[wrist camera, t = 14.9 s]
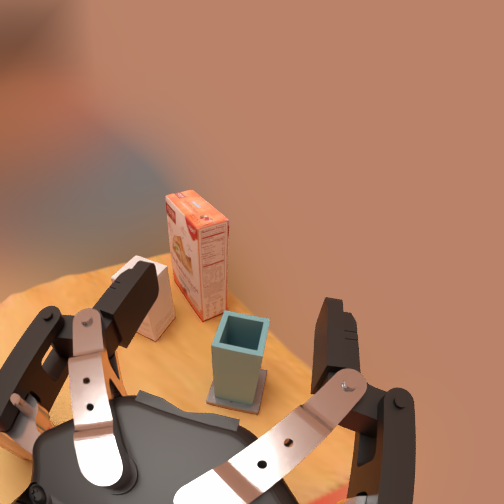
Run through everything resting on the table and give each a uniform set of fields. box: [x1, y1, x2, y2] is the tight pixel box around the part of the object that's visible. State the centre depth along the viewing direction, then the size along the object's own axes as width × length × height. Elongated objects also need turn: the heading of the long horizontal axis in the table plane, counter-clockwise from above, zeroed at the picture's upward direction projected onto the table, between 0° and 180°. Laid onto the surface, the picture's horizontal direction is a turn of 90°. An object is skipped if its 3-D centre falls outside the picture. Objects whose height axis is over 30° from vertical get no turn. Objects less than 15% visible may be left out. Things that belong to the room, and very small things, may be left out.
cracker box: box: [166, 190, 229, 321], centre depth 51 cm, size 14×6×21 cm, turn 35°
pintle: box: [206, 369, 267, 415], centre depth 38 cm, size 8×8×8 cm
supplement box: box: [111, 255, 175, 341], centre depth 46 cm, size 7×7×13 cm
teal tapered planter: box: [211, 310, 270, 405], centre depth 35 cm, size 6×6×14 cm
